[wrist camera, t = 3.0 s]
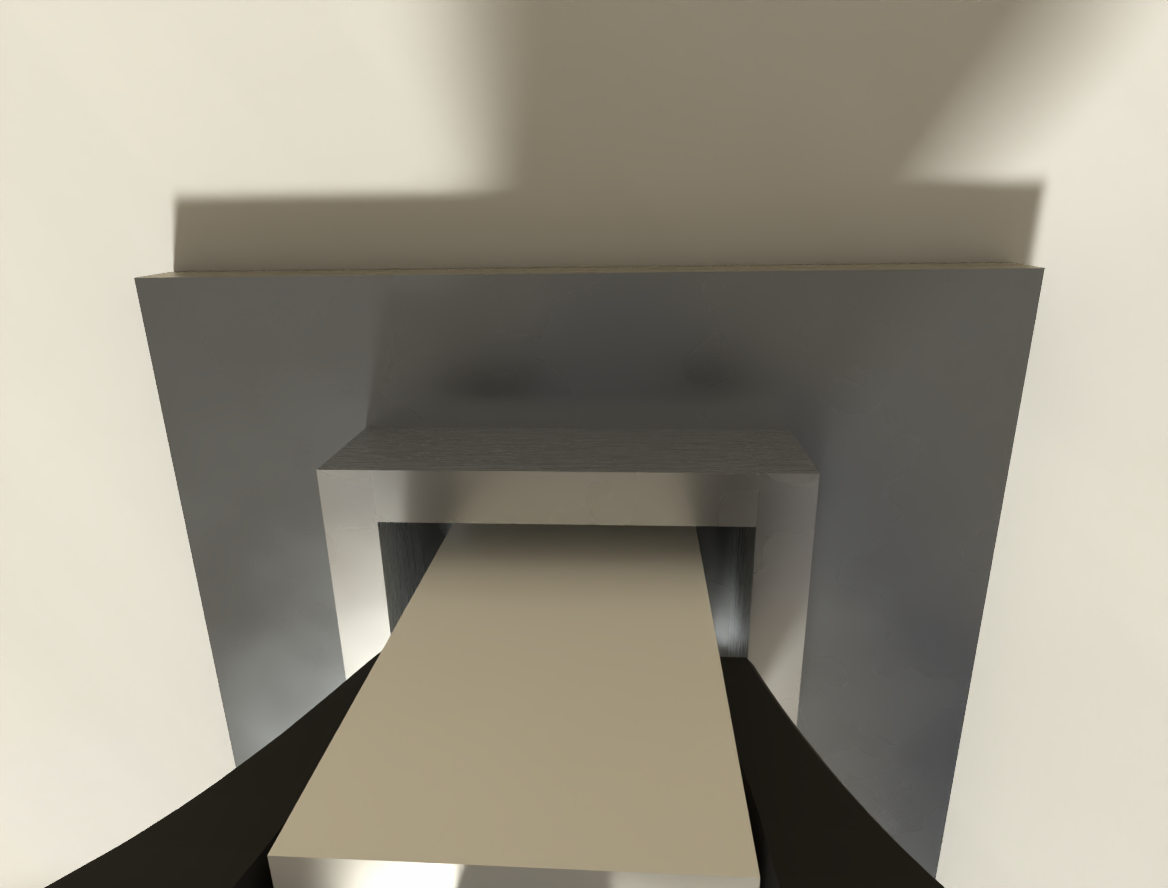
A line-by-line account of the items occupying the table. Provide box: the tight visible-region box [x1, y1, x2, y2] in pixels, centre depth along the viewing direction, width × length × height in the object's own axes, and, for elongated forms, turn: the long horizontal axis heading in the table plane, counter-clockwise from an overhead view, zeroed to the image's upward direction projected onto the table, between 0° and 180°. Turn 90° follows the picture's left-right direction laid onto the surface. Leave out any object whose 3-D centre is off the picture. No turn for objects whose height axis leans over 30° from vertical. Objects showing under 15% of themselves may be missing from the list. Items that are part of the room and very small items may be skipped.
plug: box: [267, 523, 760, 888], centre depth 9 cm, size 4×4×8 cm
